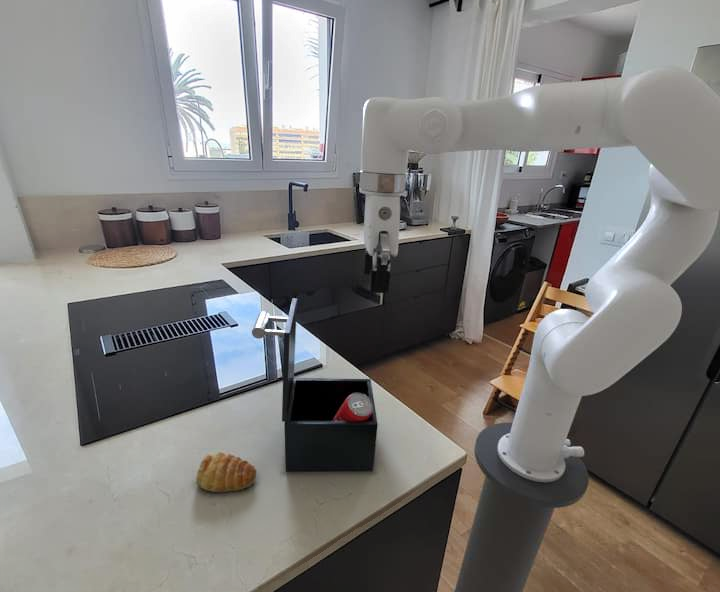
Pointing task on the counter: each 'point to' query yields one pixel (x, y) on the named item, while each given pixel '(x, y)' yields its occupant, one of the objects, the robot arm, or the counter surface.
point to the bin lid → (289, 348)
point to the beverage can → (355, 408)
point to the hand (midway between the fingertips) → (375, 282)
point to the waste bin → (328, 427)
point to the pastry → (225, 473)
